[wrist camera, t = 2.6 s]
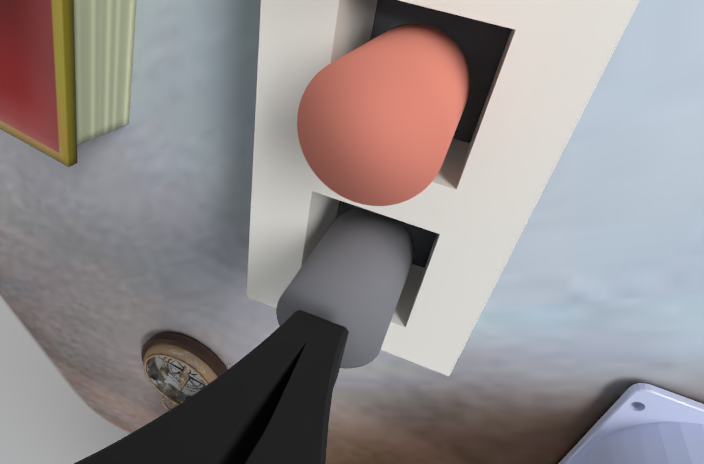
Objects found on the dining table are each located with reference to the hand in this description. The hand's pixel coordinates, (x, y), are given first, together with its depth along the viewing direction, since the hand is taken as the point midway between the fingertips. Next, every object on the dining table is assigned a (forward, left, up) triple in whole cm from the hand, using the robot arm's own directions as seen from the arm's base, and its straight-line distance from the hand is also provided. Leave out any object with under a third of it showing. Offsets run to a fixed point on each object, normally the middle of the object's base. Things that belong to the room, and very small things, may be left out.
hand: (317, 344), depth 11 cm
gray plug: (0, 0, -5) cm, 5 cm away
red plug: (+6, 0, -5) cm, 7 cm away
